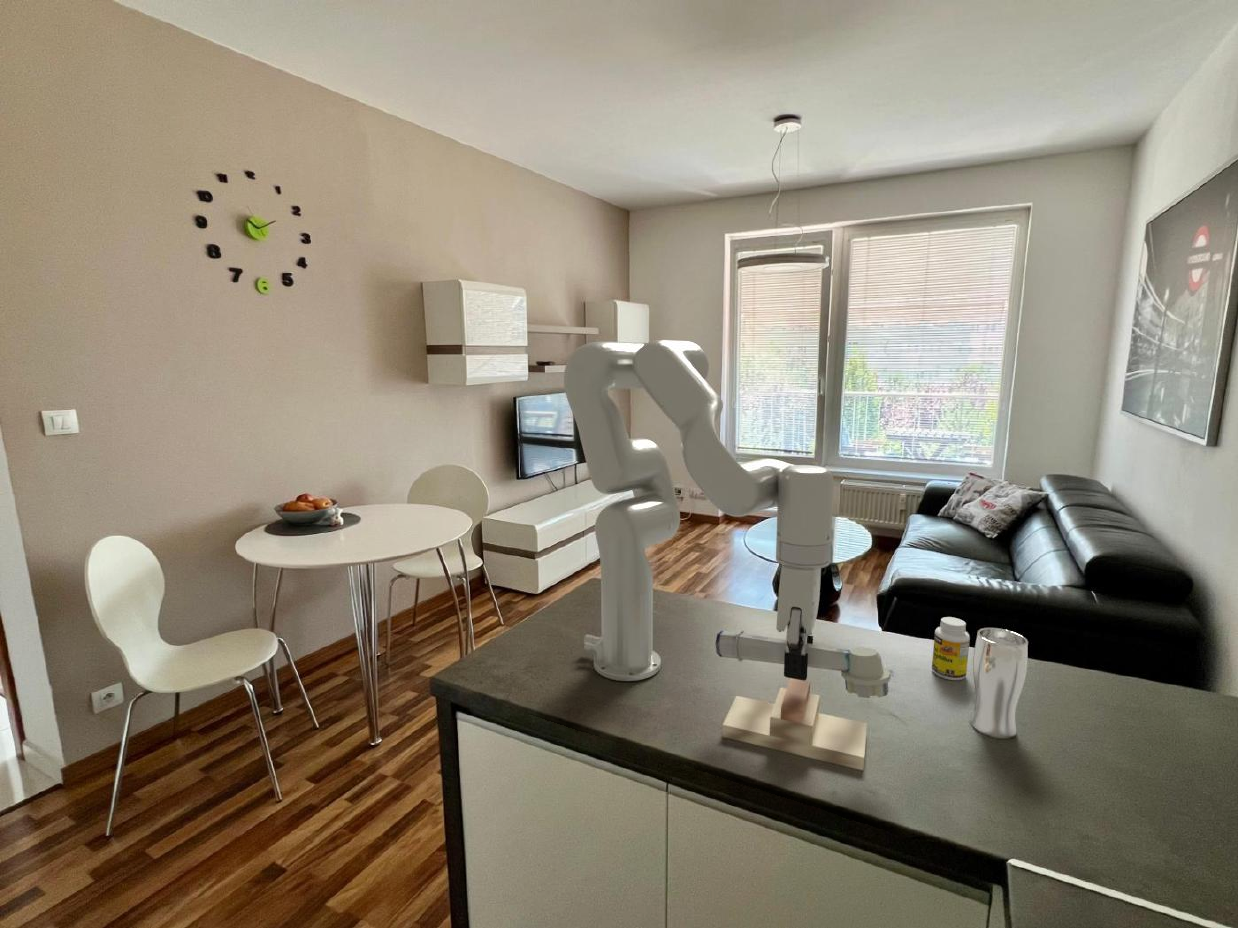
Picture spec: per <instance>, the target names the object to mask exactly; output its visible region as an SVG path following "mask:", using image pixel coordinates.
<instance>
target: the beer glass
mask: <svg viewBox="0 0 1238 928" xmlns="http://www.w3.org/2000/svg"><path fill="white" fill-rule="evenodd" d="M1028 645H1029V641H1028V639H1027V638H1026V637H1024V636H1023V635H1022V634H1020V633H1017V632H1015V631H1013V630H1012V631H1011V630H1009V629H1005V628H1004V629H1003V628H998V627H984V628H980V629H979V630H977V635H976V640H975V645H974V650H973V657H972V658H973V660H972V661H973V662H972V671H973V682H974V690H975V691H974V692H975V693H974V694H975V703H974V708H973V712H972V714H971V718H970V723H971V725H972V727H973V728H974V729H975V730H976V731H978V732H979V733H981V734H983V735H986V736H989V737H992V738H995V739H1001V740H1002V739H1003V740H1007V739H1012V738H1013V737H1016V735H1017V726H1016V724H1017V723H1016V709H1017V704H1018V702H1019V699H1020V696H1021V693H1022V691H1023V687H1024V684H1025V680H1026V676H1027V669H1028V657H1029V656H1028V654H1029V653H1028V649H1029V648H1028Z"/></svg>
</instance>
